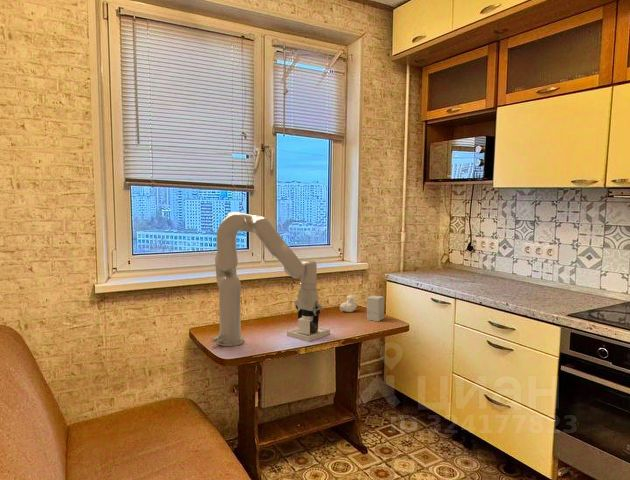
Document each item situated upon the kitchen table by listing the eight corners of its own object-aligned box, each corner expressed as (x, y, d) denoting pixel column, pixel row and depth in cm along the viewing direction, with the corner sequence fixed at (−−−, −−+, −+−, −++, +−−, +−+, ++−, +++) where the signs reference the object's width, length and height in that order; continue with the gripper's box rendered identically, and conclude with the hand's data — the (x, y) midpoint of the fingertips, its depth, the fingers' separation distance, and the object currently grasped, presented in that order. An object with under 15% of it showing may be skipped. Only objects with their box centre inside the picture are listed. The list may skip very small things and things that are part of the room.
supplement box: (384, 318, 241) (384, 296, 240) (378, 321, 234) (379, 298, 233) (372, 317, 245) (372, 294, 244) (366, 319, 238) (366, 297, 237)
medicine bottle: (310, 335, 206) (310, 310, 205) (297, 333, 210) (297, 308, 209) (318, 332, 212) (318, 307, 211) (306, 329, 216) (306, 305, 215)
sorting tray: (308, 341, 201) (308, 337, 201) (286, 335, 210) (286, 331, 209) (330, 333, 213) (330, 329, 213) (308, 328, 222) (308, 324, 222)
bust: (340, 316, 254) (347, 304, 247) (335, 306, 259) (341, 294, 252) (357, 313, 260) (364, 301, 253) (351, 304, 265) (358, 291, 258)
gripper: (290, 285, 212) (289, 319, 213) (317, 289, 201) (317, 326, 202) (300, 283, 218) (299, 316, 219) (327, 287, 207) (326, 322, 208)
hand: (308, 321), depth 211 cm, fingers open, 9 cm apart
